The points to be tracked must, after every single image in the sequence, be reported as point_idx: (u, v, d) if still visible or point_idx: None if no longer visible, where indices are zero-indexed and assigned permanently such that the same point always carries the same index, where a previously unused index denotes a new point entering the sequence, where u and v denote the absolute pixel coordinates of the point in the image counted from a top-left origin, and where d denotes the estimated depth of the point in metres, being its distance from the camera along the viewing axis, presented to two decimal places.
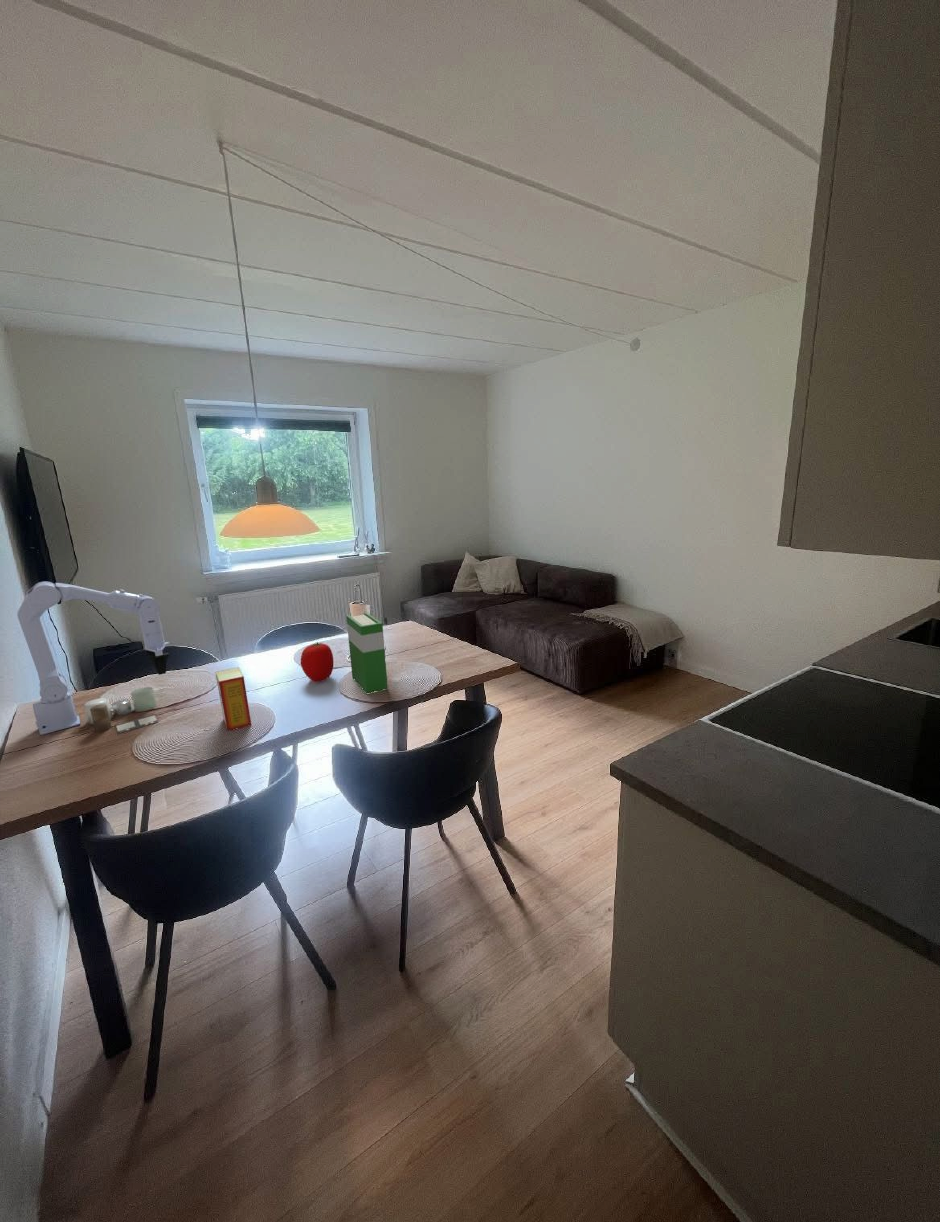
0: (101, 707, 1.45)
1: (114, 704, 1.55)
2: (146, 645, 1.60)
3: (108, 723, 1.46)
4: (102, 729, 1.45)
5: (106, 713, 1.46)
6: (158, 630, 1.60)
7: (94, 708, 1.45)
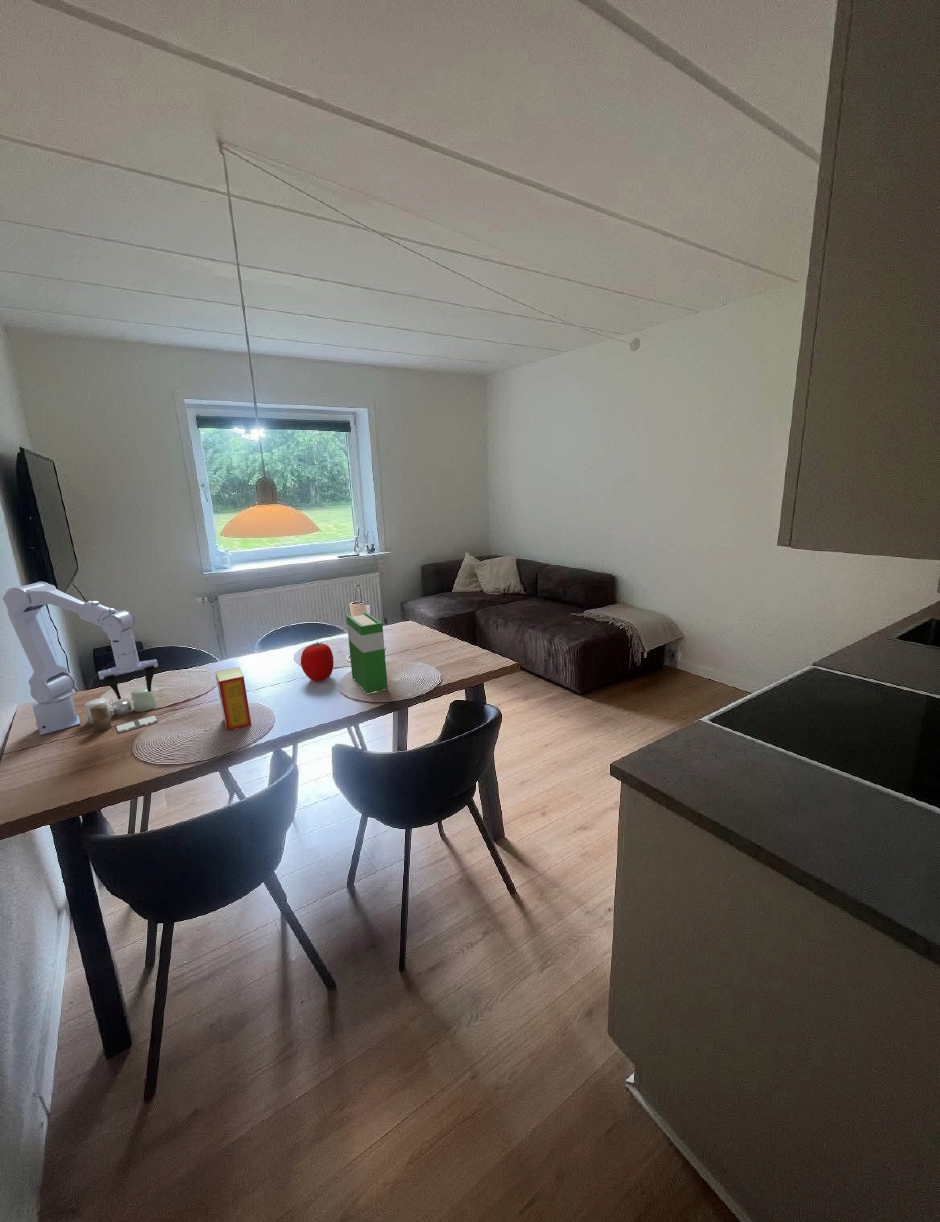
0: (101, 707, 1.45)
1: (114, 704, 1.55)
2: None
3: (108, 723, 1.46)
4: (102, 729, 1.45)
5: (106, 713, 1.46)
6: (123, 652, 1.41)
7: (94, 708, 1.45)
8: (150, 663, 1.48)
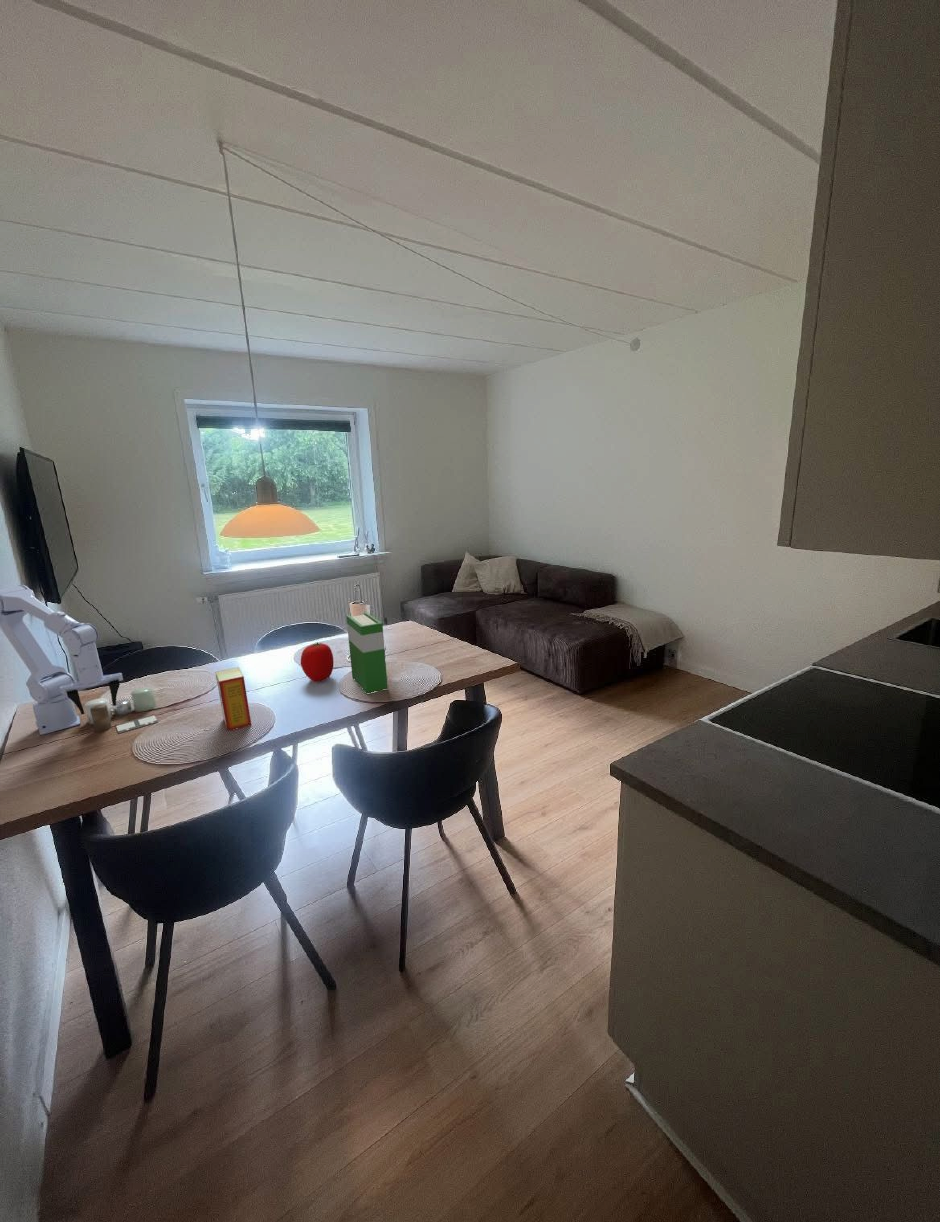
0: (101, 707, 1.45)
1: None
2: None
3: (108, 723, 1.46)
4: (102, 729, 1.45)
5: (106, 713, 1.46)
6: (83, 666, 1.39)
7: (94, 708, 1.45)
8: (115, 677, 1.46)
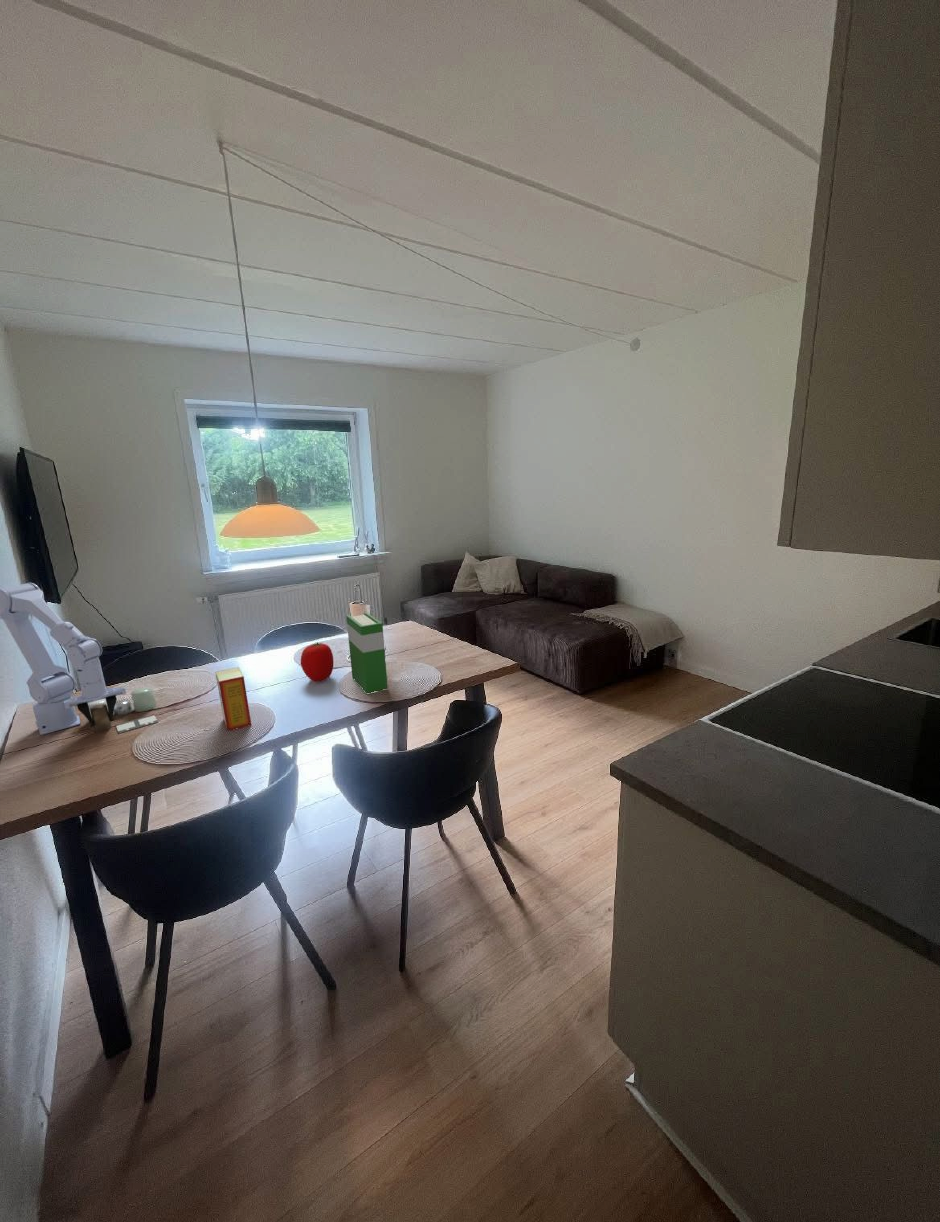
0: (101, 707, 1.45)
1: None
2: None
3: (108, 723, 1.46)
4: (102, 729, 1.45)
5: (106, 713, 1.46)
6: (87, 681, 1.40)
7: (94, 708, 1.45)
8: (118, 691, 1.47)
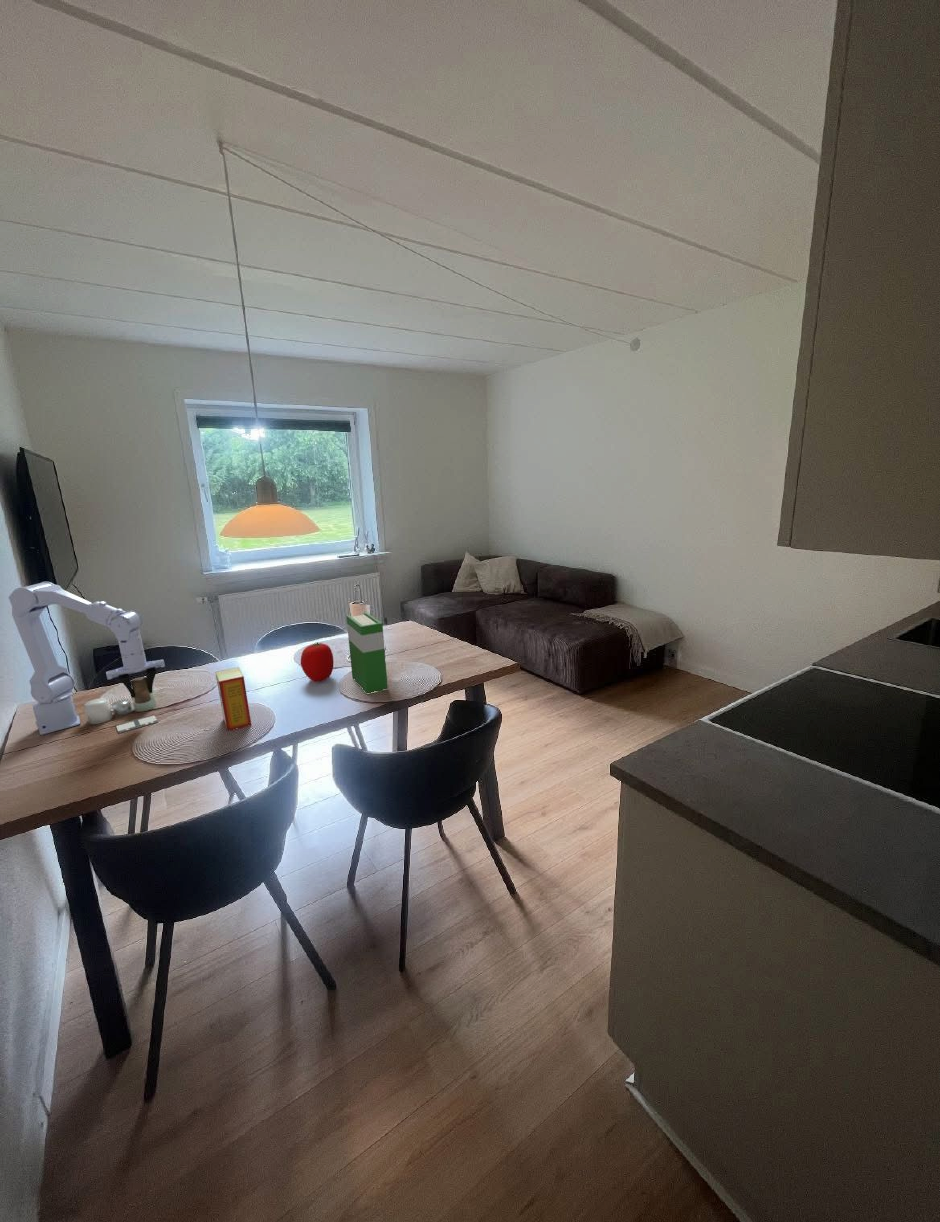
0: (141, 679, 1.47)
1: (114, 704, 1.55)
2: None
3: (148, 695, 1.49)
4: (143, 701, 1.47)
5: (146, 685, 1.48)
6: (131, 652, 1.43)
7: (134, 680, 1.47)
8: (157, 663, 1.49)
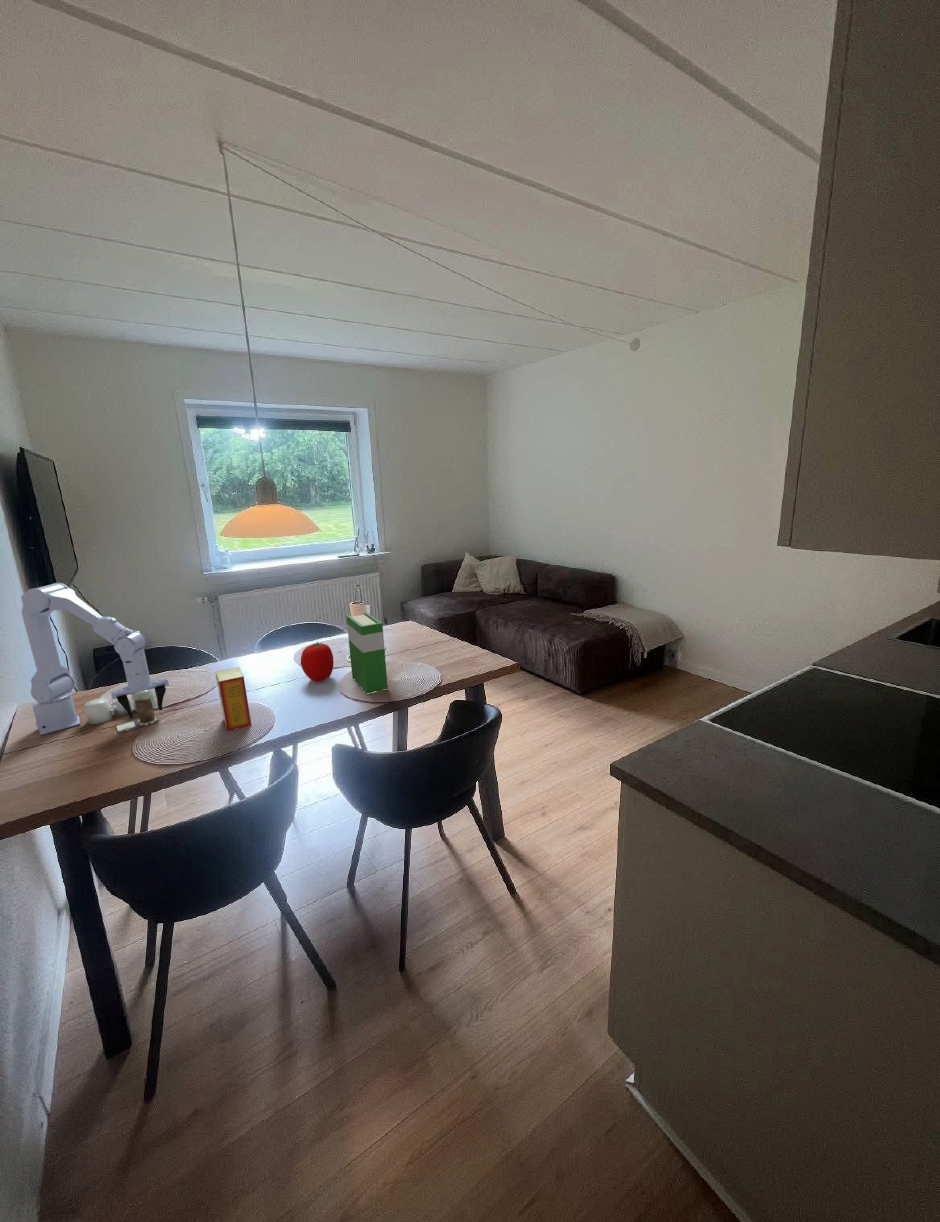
0: (146, 699, 1.49)
1: (114, 704, 1.55)
2: None
3: (152, 715, 1.50)
4: (147, 720, 1.49)
5: (150, 705, 1.50)
6: (136, 672, 1.44)
7: (138, 700, 1.48)
8: (161, 682, 1.50)
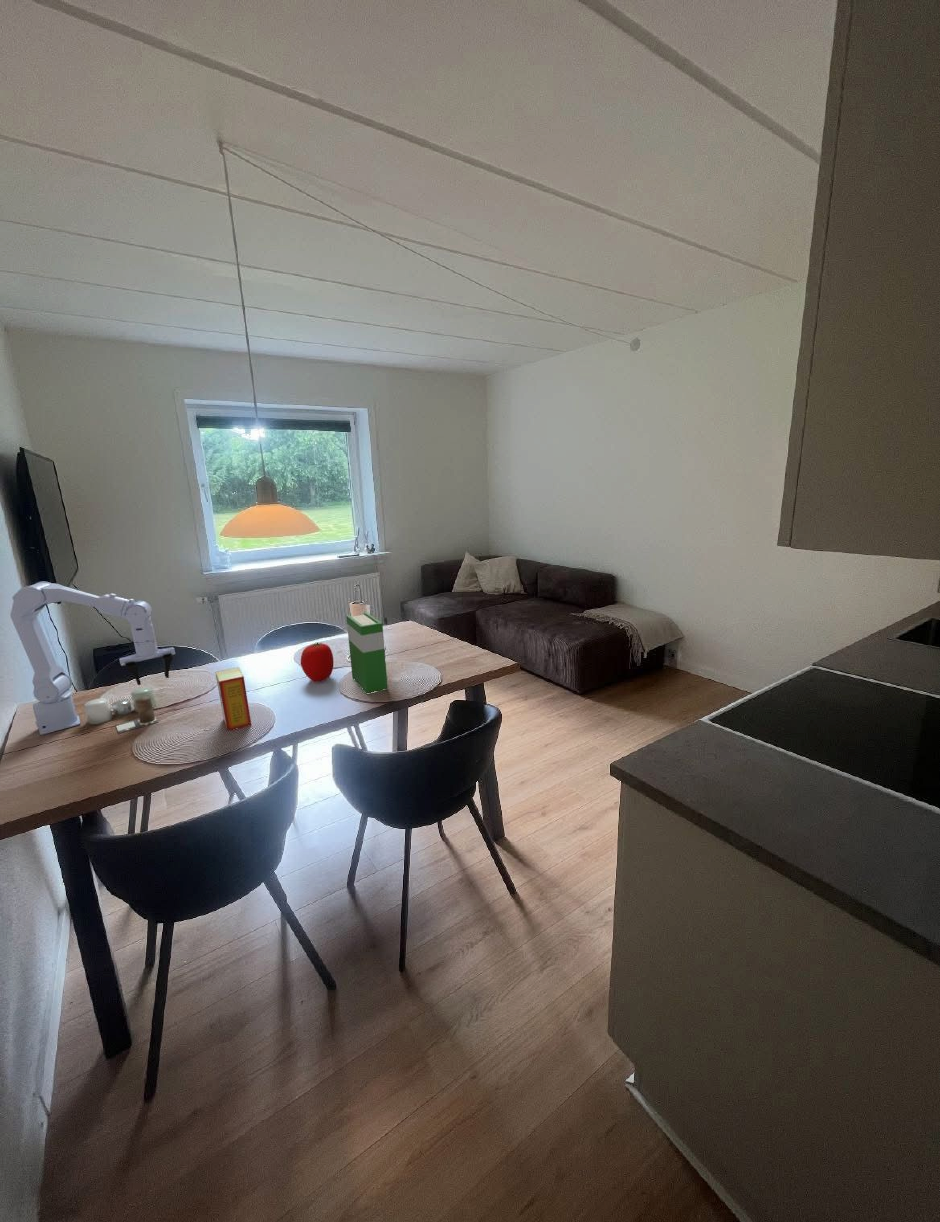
0: (146, 699, 1.49)
1: (114, 704, 1.55)
2: None
3: (152, 715, 1.50)
4: (147, 720, 1.49)
5: (150, 705, 1.49)
6: (147, 639, 1.50)
7: (138, 700, 1.48)
8: (168, 651, 1.55)
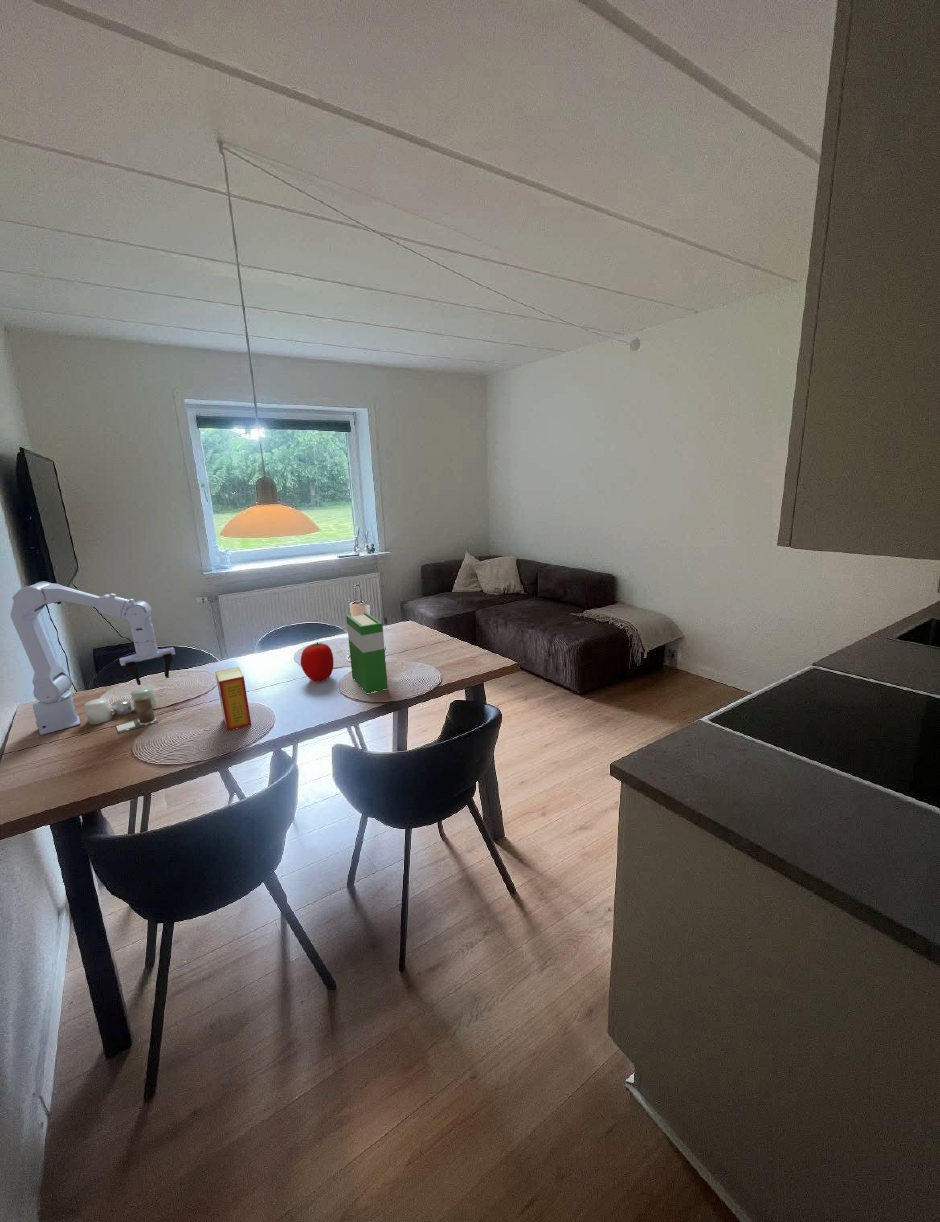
0: (145, 699, 1.49)
1: (114, 704, 1.55)
2: None
3: (152, 714, 1.50)
4: (147, 720, 1.49)
5: (150, 705, 1.50)
6: (147, 639, 1.50)
7: (138, 700, 1.48)
8: (168, 651, 1.55)
